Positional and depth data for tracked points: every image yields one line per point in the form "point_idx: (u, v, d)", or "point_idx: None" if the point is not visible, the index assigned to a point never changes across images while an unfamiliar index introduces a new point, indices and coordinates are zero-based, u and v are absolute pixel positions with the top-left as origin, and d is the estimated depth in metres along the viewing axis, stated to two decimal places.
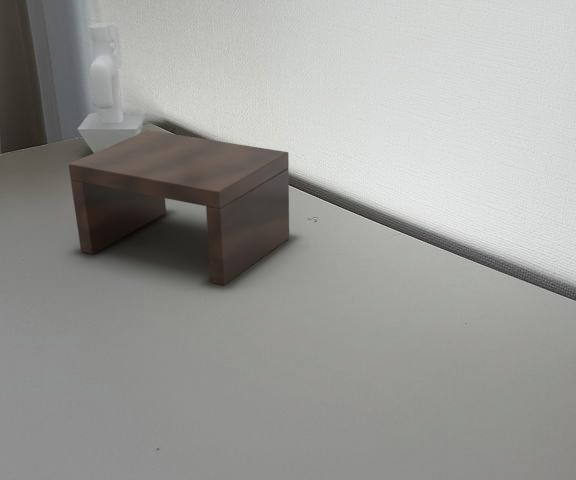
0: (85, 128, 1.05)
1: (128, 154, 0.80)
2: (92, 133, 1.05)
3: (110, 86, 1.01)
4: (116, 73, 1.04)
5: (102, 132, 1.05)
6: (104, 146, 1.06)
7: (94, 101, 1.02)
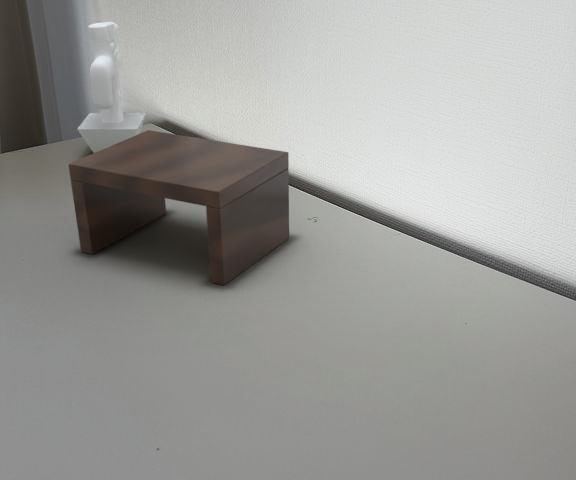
0: (85, 128, 1.05)
1: (128, 154, 0.80)
2: (92, 133, 1.05)
3: (110, 86, 1.01)
4: (116, 73, 1.04)
5: (102, 132, 1.05)
6: (104, 146, 1.06)
7: (94, 101, 1.02)
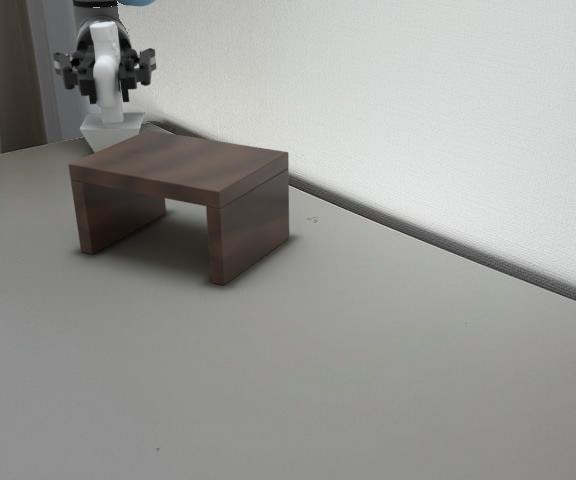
0: (87, 128, 1.04)
1: (128, 154, 0.80)
2: (94, 133, 1.05)
3: (114, 86, 1.01)
4: (117, 73, 1.04)
5: (104, 132, 1.05)
6: (106, 146, 1.06)
7: (98, 101, 1.02)
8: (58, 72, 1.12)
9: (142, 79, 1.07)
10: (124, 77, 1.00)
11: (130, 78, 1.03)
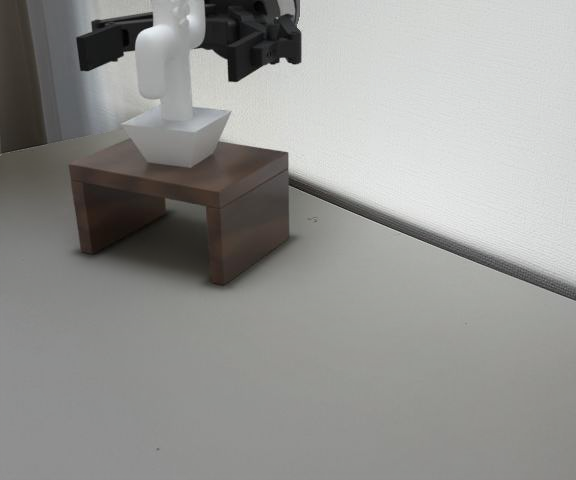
0: (131, 124, 0.75)
1: (128, 154, 0.80)
2: (140, 132, 0.75)
3: (160, 68, 0.71)
4: (182, 51, 0.73)
5: (152, 131, 0.75)
6: (157, 151, 0.76)
7: (139, 87, 0.72)
8: None
9: (287, 54, 0.75)
10: (234, 46, 0.69)
11: (256, 49, 0.72)
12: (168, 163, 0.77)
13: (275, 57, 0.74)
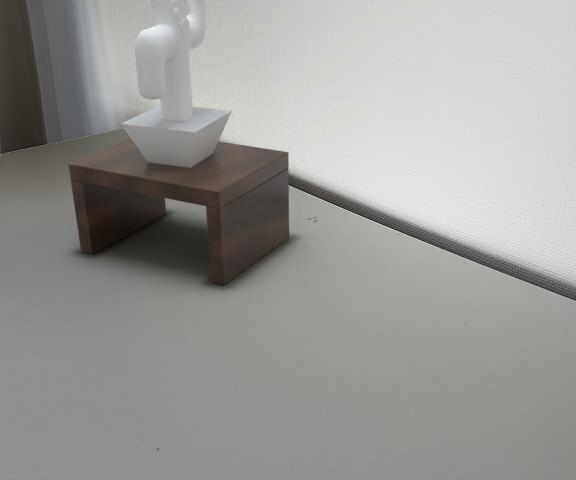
0: (131, 124, 0.75)
1: (128, 154, 0.80)
2: (140, 132, 0.75)
3: (160, 68, 0.71)
4: (182, 51, 0.73)
5: (152, 131, 0.75)
6: (157, 151, 0.76)
7: (139, 87, 0.72)
8: None
9: None
10: None
11: None
12: (168, 163, 0.77)
13: None
